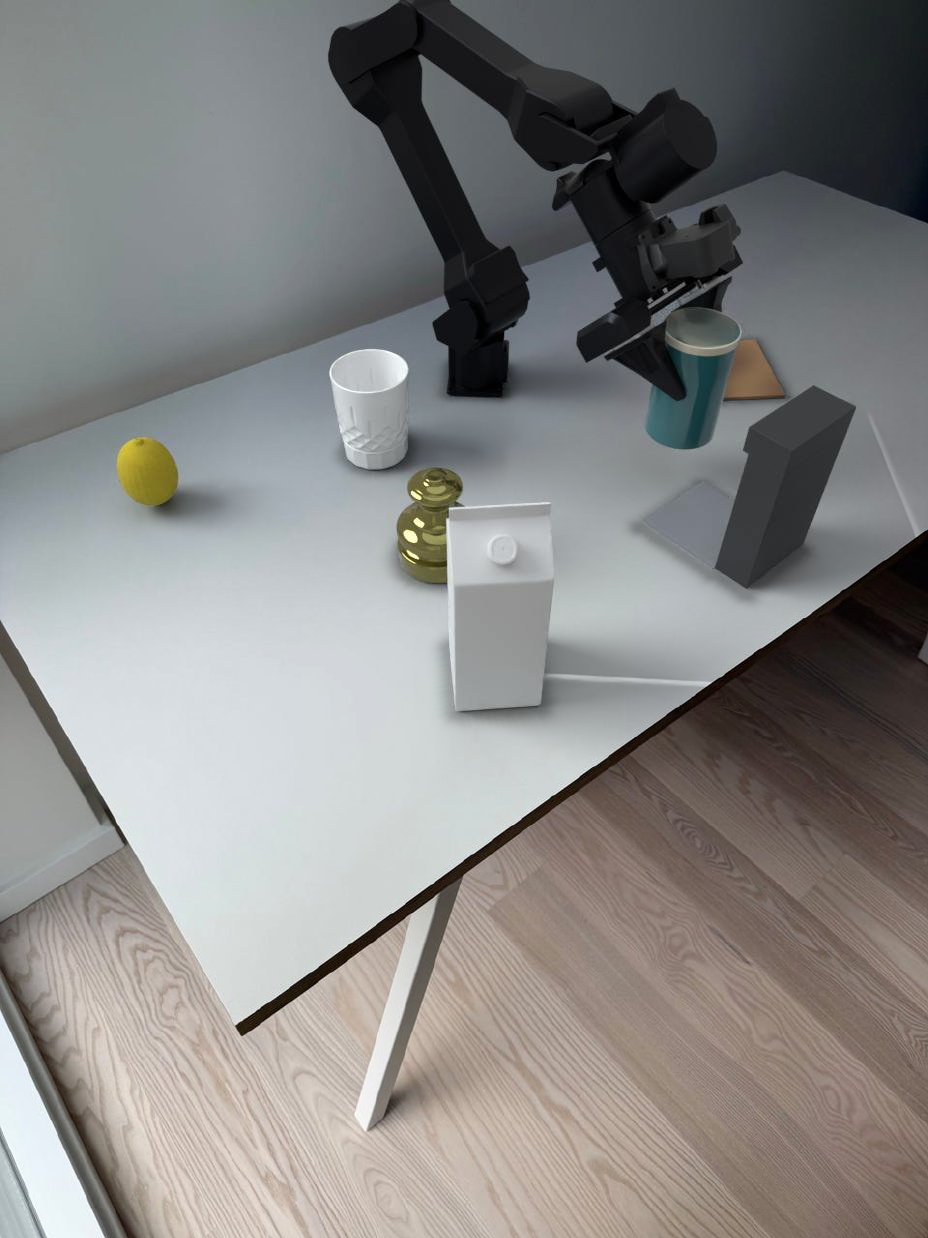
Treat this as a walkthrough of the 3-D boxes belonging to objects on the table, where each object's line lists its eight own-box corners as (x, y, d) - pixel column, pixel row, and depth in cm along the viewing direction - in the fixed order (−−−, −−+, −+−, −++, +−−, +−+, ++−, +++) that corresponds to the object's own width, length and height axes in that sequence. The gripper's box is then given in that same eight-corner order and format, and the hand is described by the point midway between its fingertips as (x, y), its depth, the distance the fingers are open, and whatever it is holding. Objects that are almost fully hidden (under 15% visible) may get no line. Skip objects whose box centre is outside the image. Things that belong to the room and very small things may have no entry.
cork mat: (682, 402, 102) (683, 399, 102) (659, 345, 110) (660, 342, 110) (784, 397, 103) (785, 394, 103) (754, 341, 111) (755, 339, 111)
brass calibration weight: (419, 595, 82) (414, 513, 75) (386, 546, 86) (378, 464, 79) (489, 569, 84) (492, 487, 77) (454, 522, 89) (453, 440, 81)
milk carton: (448, 646, 78) (445, 475, 64) (529, 641, 78) (543, 470, 64) (455, 712, 73) (452, 544, 59) (541, 706, 74) (559, 537, 59)
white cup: (402, 478, 93) (397, 396, 86) (330, 468, 94) (319, 387, 87) (420, 433, 98) (416, 353, 91) (351, 425, 99) (342, 344, 92)
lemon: (196, 492, 92) (177, 428, 86) (167, 526, 88) (145, 462, 82) (149, 481, 93) (128, 417, 87) (119, 514, 89) (94, 450, 84)
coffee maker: (639, 527, 88) (668, 384, 76) (701, 485, 92) (737, 344, 80) (742, 596, 82) (790, 452, 70) (803, 548, 86) (859, 404, 74)
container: (650, 451, 86) (670, 349, 77) (638, 407, 90) (656, 307, 82) (722, 449, 86) (750, 347, 77) (706, 406, 90) (731, 306, 82)
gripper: (621, 218, 68) (714, 398, 72) (749, 148, 77) (826, 310, 81) (536, 281, 78) (621, 437, 81) (658, 211, 87) (731, 354, 90)
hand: (703, 383), depth 83 cm, fingers closed on container, 7 cm apart
